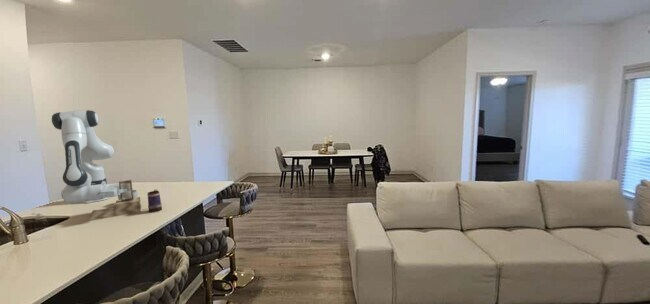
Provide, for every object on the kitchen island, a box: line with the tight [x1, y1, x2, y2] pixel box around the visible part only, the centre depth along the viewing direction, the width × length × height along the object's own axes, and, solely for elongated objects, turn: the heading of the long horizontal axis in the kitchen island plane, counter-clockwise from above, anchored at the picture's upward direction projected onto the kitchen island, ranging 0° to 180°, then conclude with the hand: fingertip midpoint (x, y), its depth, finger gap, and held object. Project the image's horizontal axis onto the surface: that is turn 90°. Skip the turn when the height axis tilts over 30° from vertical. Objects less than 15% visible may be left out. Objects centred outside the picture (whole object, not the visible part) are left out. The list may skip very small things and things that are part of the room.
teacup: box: [117, 189, 138, 200], centre depth 193 cm, size 14×11×8 cm
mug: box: [147, 189, 163, 213], centre depth 176 cm, size 10×7×12 cm
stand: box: [89, 196, 142, 221], centre depth 172 cm, size 24×10×7 cm, turn 119°
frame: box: [118, 179, 134, 202], centre depth 173 cm, size 6×3×12 cm, turn 119°
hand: (127, 188), depth 173 cm, fingers open, 8 cm apart
